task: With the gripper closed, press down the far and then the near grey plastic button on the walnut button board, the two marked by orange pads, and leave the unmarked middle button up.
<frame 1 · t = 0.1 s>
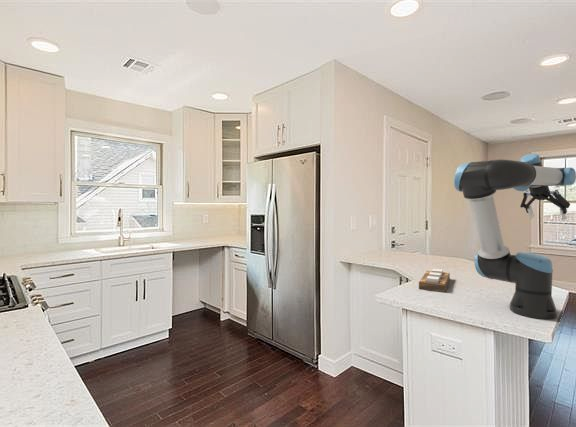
hand: (547, 217, 164), 36 cm above the countertop, tool tilted 35°, fingers open, 13 cm apart
near button: (432, 280, 166), point 4 cm above the countertop, slide at 0.0 cm
far button: (437, 272, 183), point 4 cm above the countertop, slide at 0.0 cm
button board: (435, 283, 174), on the countertop
middle button: (435, 276, 174), point 4 cm above the countertop, slide at 0.0 cm
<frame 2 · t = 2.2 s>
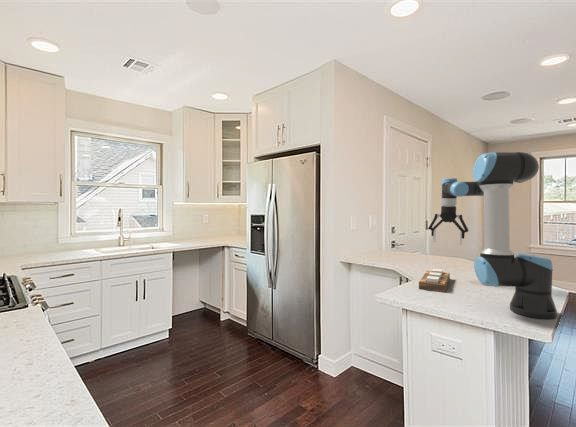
hand: (447, 243, 183), 21 cm above the countertop, tool pointing down, fingers open, 13 cm apart
nothing on the countertop moved.
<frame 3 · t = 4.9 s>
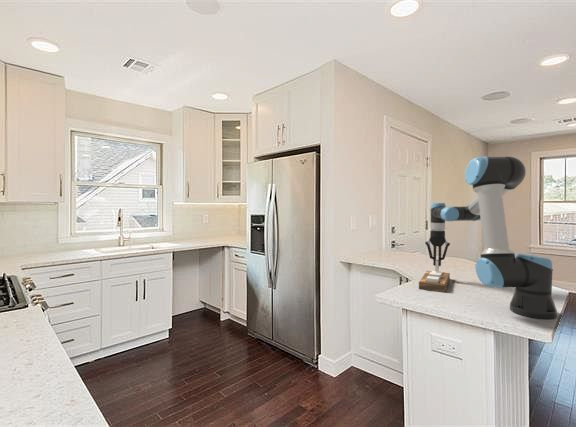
hand: (437, 271, 183), 5 cm above the countertop, tool pointing down, fingers closed
far button: (437, 274, 183), point 3 cm above the countertop, slide at 1.1 cm, touching gripper
everything else where it was.
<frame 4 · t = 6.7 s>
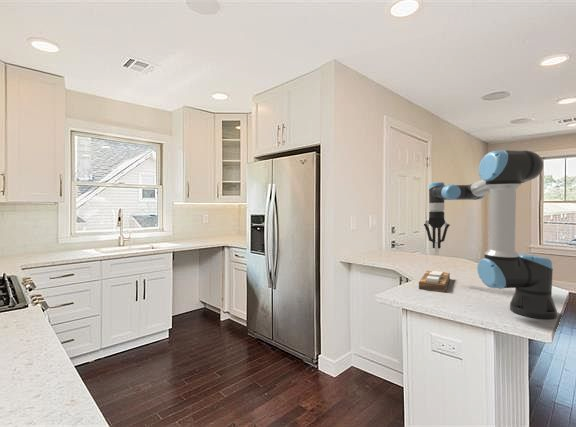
hand: (436, 254, 176), 16 cm above the countertop, tool pointing down, fingers closed
far button: (437, 274, 183), point 3 cm above the countertop, slide at 1.3 cm
everything else where it was.
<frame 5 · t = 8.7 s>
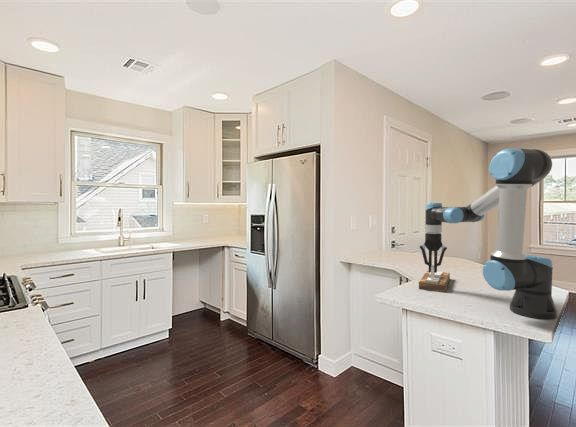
hand: (432, 278, 166), 5 cm above the countertop, tool pointing down, fingers closed
near button: (432, 281, 166), point 3 cm above the countertop, slide at 0.8 cm, touching gripper
everything else where it was.
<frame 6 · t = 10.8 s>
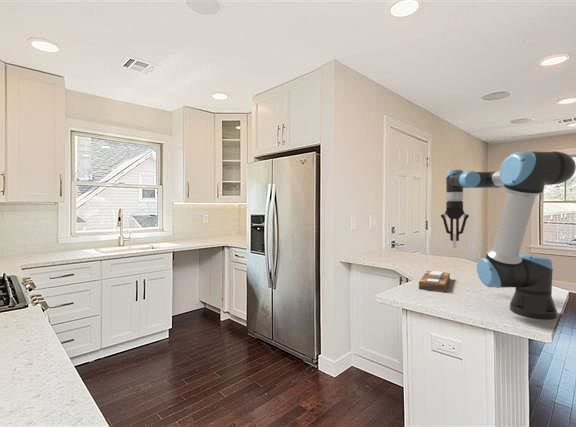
hand: (454, 247, 163), 21 cm above the countertop, tool pointing down, fingers closed
near button: (432, 282, 166), point 3 cm above the countertop, slide at 1.3 cm
everything else where it was.
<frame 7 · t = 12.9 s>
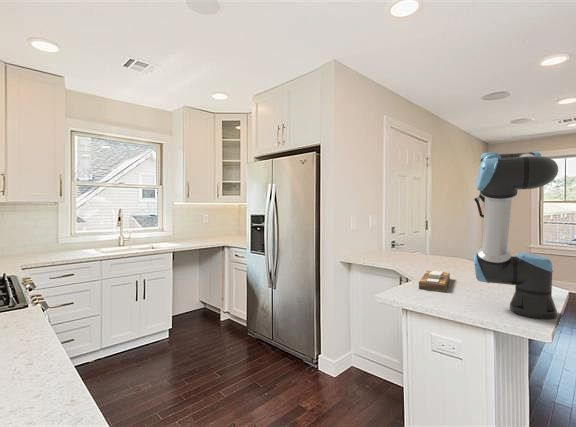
hand: (488, 231, 162), 29 cm above the countertop, tool pointing down, fingers closed
nothing on the countertop moved.
at the end: far button slide at 1.3 cm; near button slide at 1.3 cm; middle button slide at 0.0 cm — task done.
